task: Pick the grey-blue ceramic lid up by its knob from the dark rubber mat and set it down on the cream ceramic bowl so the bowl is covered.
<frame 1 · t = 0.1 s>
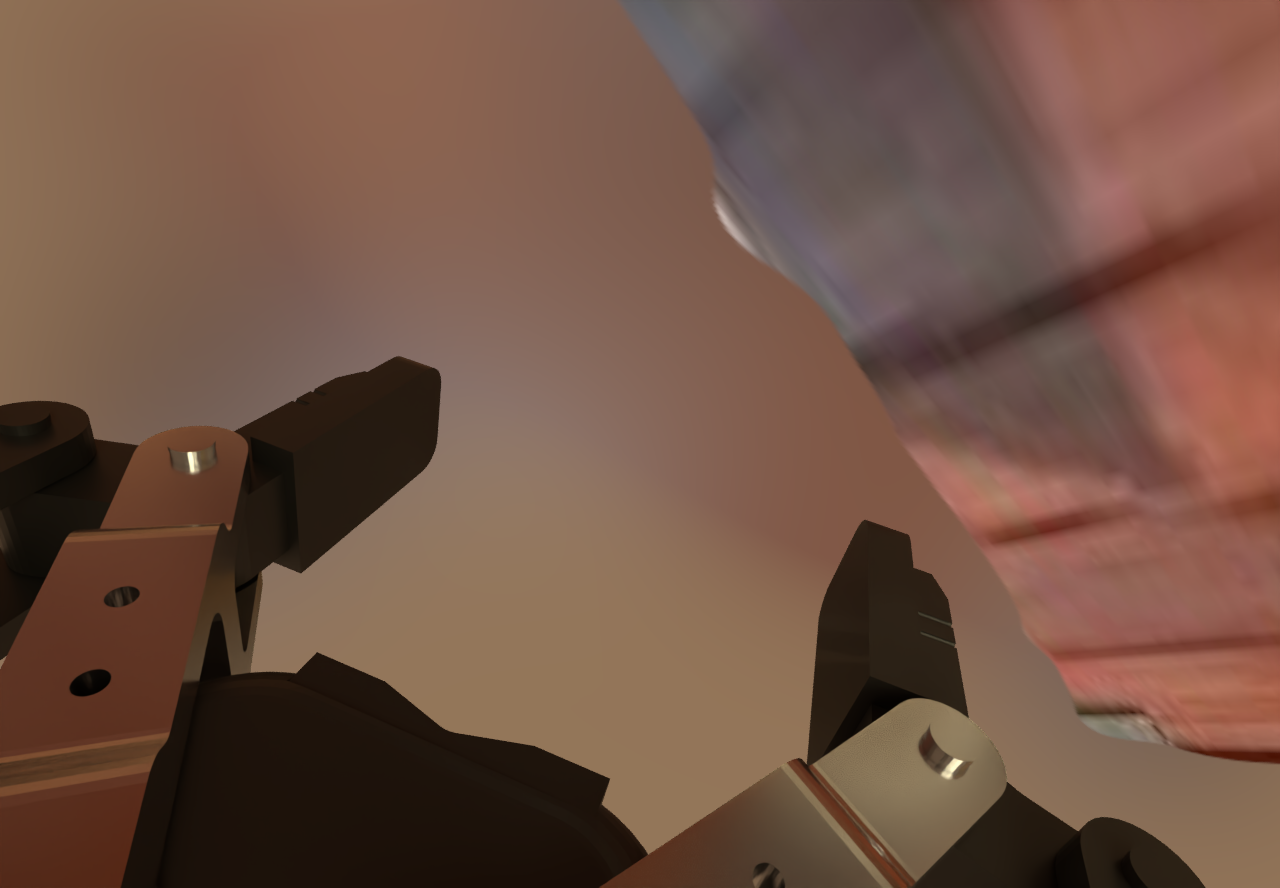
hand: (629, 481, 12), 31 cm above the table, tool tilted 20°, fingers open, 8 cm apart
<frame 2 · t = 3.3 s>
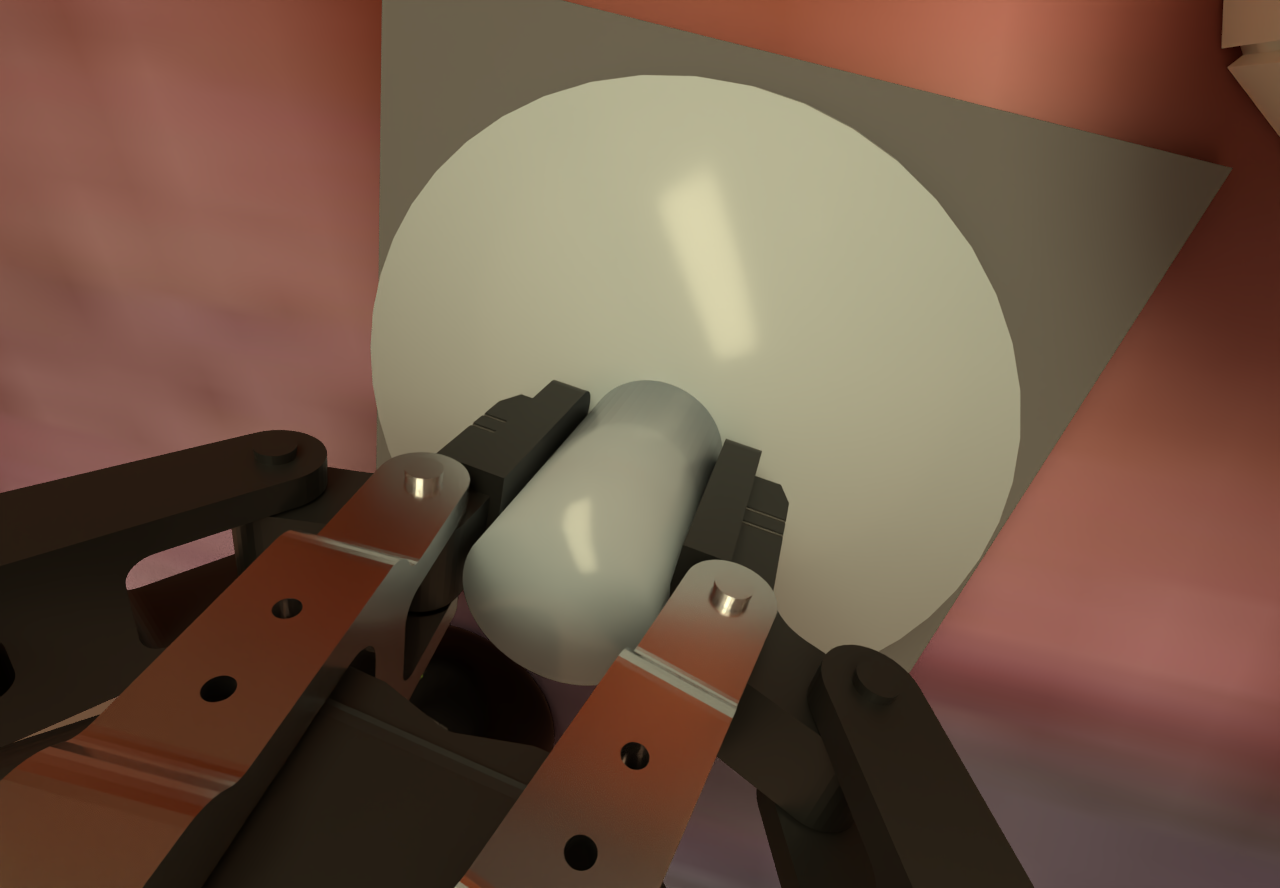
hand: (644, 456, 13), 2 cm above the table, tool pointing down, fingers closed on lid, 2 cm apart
mat: (669, 416, 14), on the table
supplement bottle: (467, 691, 21), on the table
lid: (665, 424, 14), resting on mat, touching gripper
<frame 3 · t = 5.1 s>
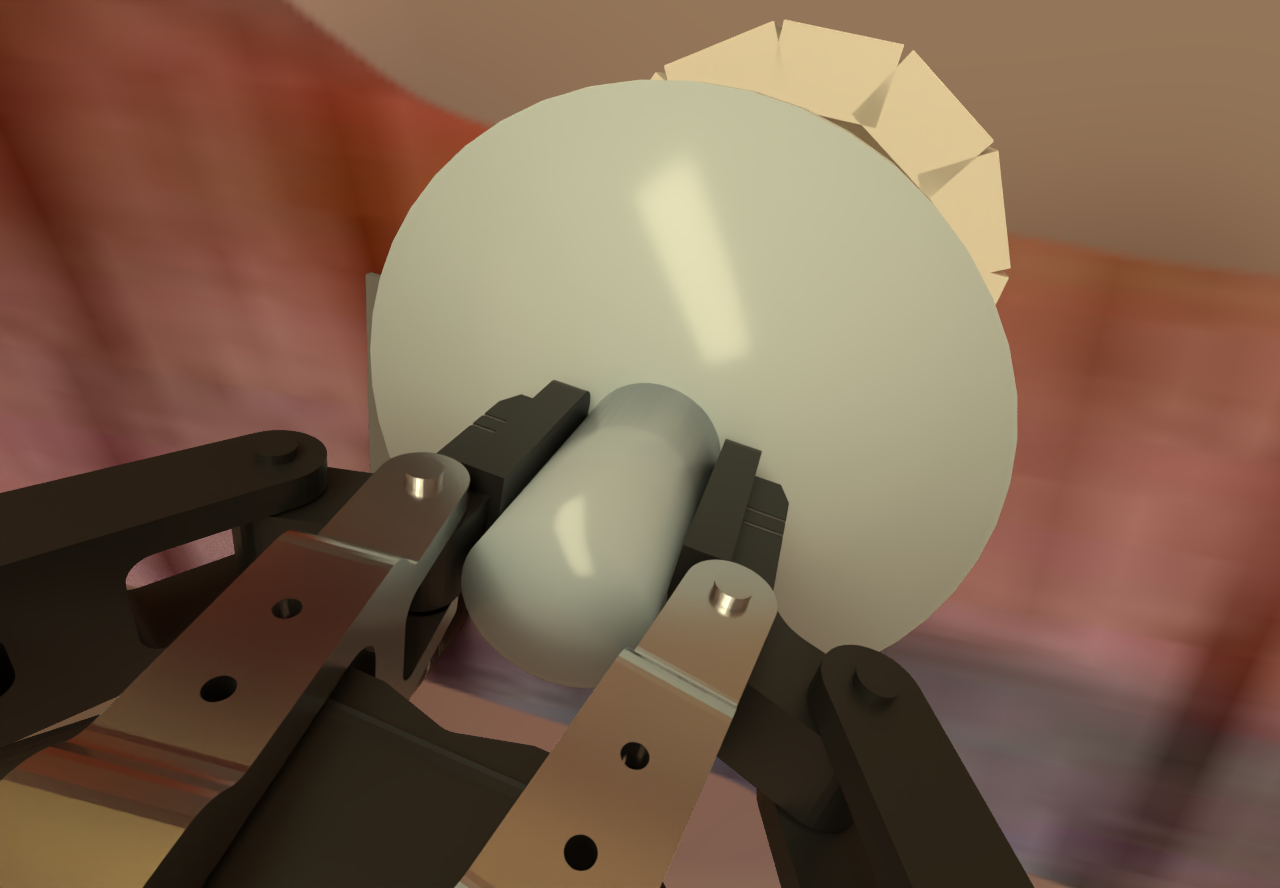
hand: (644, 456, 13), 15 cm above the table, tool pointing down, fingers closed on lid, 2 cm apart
mat: (495, 444, 33), on the table
supplement bottle: (421, 588, 40), on the table
lid: (664, 426, 14), point 14 cm above the table, touching gripper
bowl: (786, 242, 25), on the table
when the fingers open (8 cm above the table, at t = 6.8 s): lid drops 1 cm, resting on bowl.
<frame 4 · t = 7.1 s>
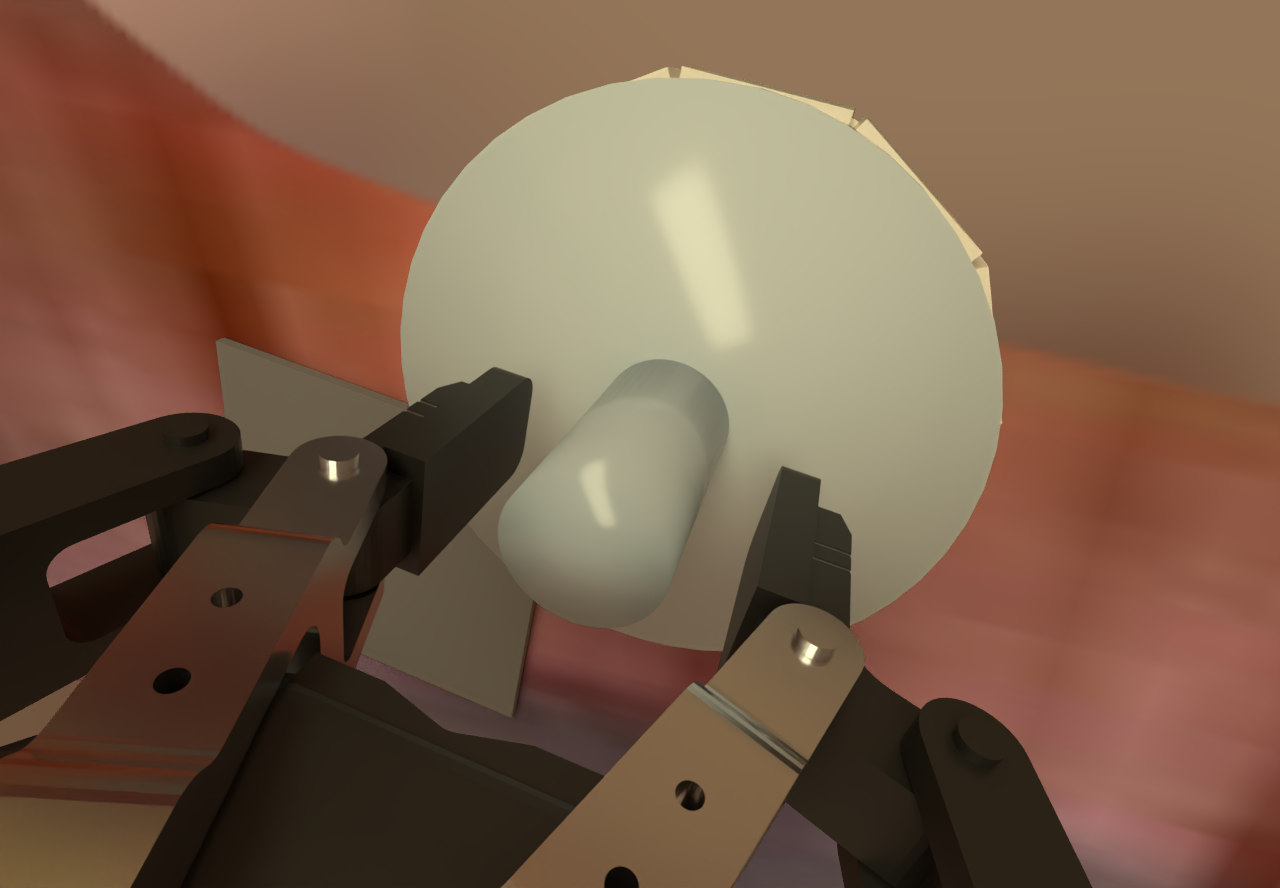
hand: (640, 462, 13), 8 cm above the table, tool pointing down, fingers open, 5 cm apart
mat: (383, 541, 27), on the table
lid: (676, 402, 15), point 5 cm above the table, touching bowl
bowl: (718, 336, 19), on the table
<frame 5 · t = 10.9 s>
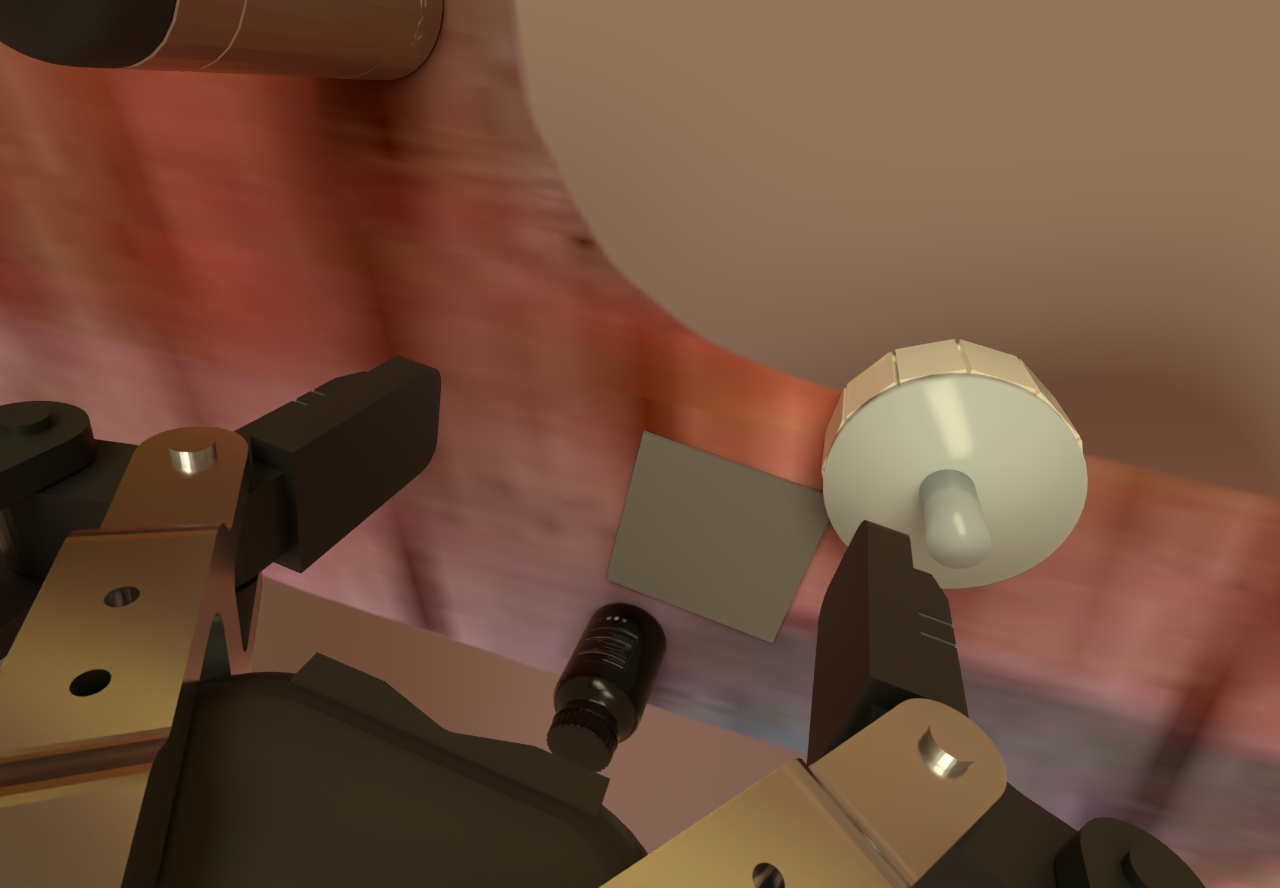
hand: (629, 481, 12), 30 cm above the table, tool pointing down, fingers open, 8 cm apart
mat: (712, 540, 49), on the table
supplement bottle: (629, 630, 56), on the table
lid: (945, 482, 36), point 5 cm above the table, touching bowl
bowl: (937, 443, 41), on the table
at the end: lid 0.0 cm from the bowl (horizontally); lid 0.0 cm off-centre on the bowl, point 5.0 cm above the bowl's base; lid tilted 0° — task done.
